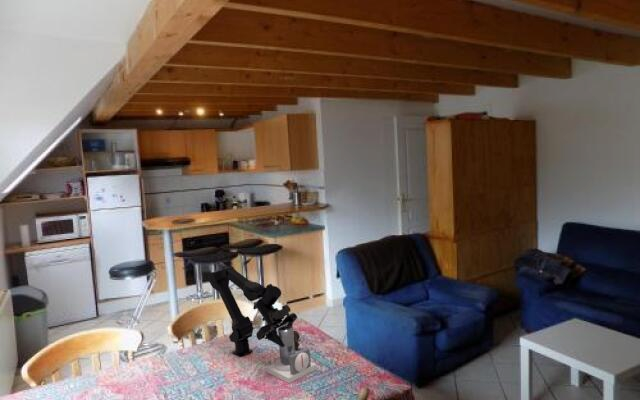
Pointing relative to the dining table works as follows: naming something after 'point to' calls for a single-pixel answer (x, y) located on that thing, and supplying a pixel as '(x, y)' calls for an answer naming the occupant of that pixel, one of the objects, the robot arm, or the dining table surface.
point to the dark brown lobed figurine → (296, 340)
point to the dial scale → (293, 367)
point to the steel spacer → (286, 343)
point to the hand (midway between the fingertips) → (289, 343)
